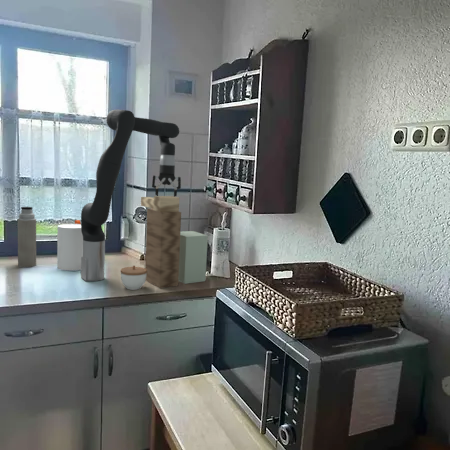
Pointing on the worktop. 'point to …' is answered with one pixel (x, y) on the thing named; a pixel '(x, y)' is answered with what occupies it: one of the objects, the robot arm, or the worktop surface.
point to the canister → (69, 247)
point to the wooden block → (161, 203)
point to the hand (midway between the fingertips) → (166, 196)
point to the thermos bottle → (26, 238)
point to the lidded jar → (133, 277)
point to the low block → (192, 257)
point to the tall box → (163, 248)
